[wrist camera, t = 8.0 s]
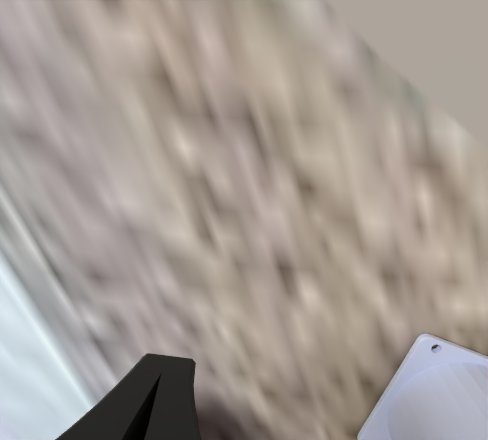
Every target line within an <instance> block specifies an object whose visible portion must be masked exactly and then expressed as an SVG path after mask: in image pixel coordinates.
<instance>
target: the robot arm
mask: <svg viewBox="0 0 488 440" xmlns="http://www.w3.org/2000/svg"><path fill="white" fill-rule="evenodd" d="M436 344H437V345H438V346H437V347H436V348H434V349H432V346H434V345H436ZM195 365H196V363H195V362H194V361H193V359H189V358H181V357H173V356H165V355H157V354H149V353H148V354H146V355H145V356H143V357H142V359H141V360H140V361H139V362H138V363H137V364H136V365H135V366H134V367H133V369H132V370H131V371H130V372H129V373H128V374H127V375H126V376H125V377H124V378H123V379H122V380H121V381H120V382H119V383H118V384H117V385H116V386H115V387H114V388H113V389H112V390H111V391H110V392H109V393H108V394H107V395H106V396H105V397H104V398H103V399H102V400H101V401H100V402H99V403H98V404H97V405H95V406H94V407H93V408H92V409H91V410H90V411H89V412H88V413H86V414H85V415H84V416H83V417H82V418H81V419H80V420H78V421H77V422H76V423H75V424H74V425H73V426H72V427H70V428H69V429H68V430H67V431H65V432H64V433H63V434H62V435H61V436H59V437H58V438H57V439H55V440H201V436H200V432H199V427H198V421H197V415H196V408H195V400H194V387H193V385H194V375H195ZM357 439H358V440H488V356H485V355H483V354H480V353H478V352H475V351H472V350H470V349H467V348H465V347H462V346H459V345H457V344H454V343H452V342H449V341H446V340H444V339H441V338H439V337H436V336H433V335H431V334H422V335H420V336H419V337H418V338H417V339H416V341H415V343H414V344H413V346H412V348H411V349H410V351H409V352H408V354H407V356H406V357H405V359H404V361H403V362H402V364H401V365H400V367H399V369H398V370H397V372H396V373H395V375H394V377H393V378H392V380H391V382H390V383H389V385H388V386H387V388H386V390H385V391H384V393H383V395H382V396H381V398H380V399H379V401H378V403H377V404H376V406H375V407H374V409H373V411H372V412H371V414H370V416H369V417H368V419H367V420H366V422H365V424H364V425H363V427H362V429H361V430H360V432H359V433H358V436H357Z"/></svg>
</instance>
